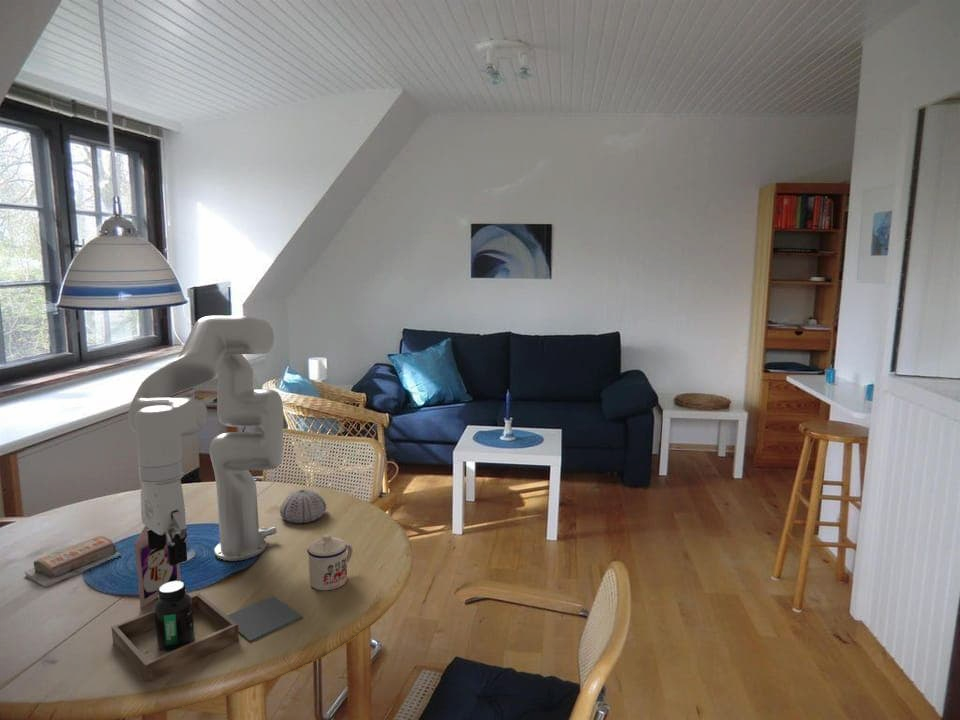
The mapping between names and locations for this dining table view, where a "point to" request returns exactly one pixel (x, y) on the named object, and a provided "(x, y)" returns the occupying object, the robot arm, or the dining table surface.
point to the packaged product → (71, 561)
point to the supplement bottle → (173, 616)
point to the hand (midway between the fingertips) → (167, 555)
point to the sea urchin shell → (302, 506)
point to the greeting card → (153, 568)
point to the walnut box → (181, 655)
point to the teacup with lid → (328, 562)
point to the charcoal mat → (263, 618)
